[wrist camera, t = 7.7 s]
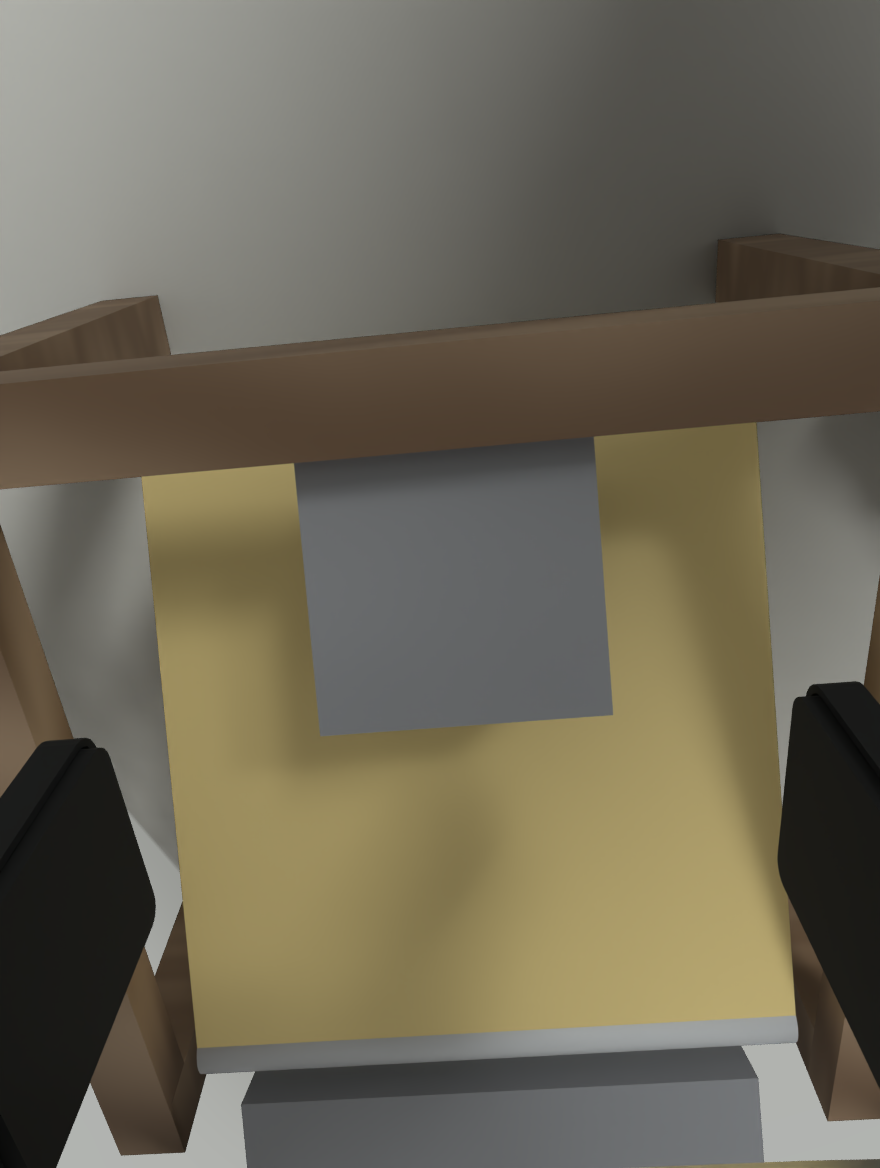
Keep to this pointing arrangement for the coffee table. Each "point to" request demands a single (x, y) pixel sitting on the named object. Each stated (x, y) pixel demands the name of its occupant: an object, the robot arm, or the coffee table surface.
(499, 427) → the frame
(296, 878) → the trapdoor
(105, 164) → the coffee table surface
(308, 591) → the smooth grey cube
